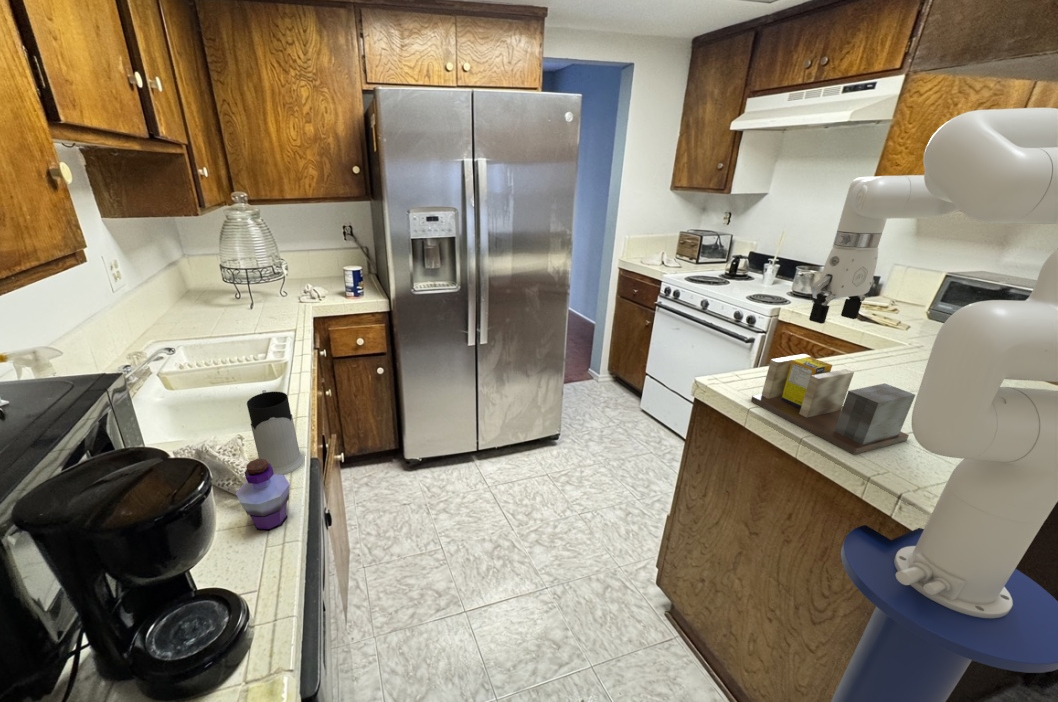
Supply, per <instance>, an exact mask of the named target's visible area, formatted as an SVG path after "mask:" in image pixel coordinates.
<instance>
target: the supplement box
mask: <svg viewBox="0 0 1058 702" xmlns="http://www.w3.org/2000/svg"><path fill="white" fill-rule="evenodd" d="M832 367H833V364H831V363H829V362H826V361H822V360H820V359H816V358H814V357H812V356H811V357H805V358H800V359H795V360H792V362H791V366H790V370H789V373H788V377H787V380H786V384H785V388H784V391H783V395H782V399H781V400H783V401H786V402H788V403H790V404H792V405H795V406H797V407H799V408H801V406H802V403H803V400H804V396H805V393H806V390H807V387H808V383H809V380H810V377H811V376H812V375H817V374H822V373H828V372H832Z"/></svg>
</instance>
